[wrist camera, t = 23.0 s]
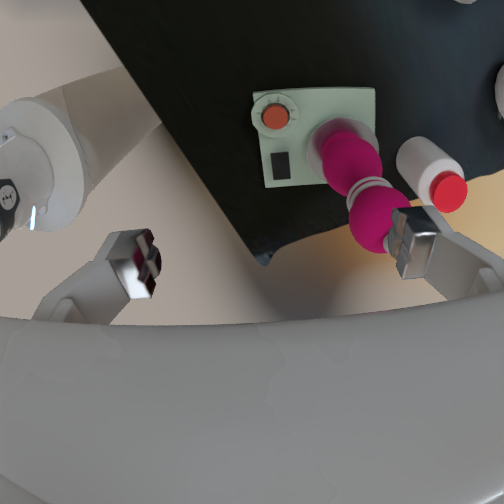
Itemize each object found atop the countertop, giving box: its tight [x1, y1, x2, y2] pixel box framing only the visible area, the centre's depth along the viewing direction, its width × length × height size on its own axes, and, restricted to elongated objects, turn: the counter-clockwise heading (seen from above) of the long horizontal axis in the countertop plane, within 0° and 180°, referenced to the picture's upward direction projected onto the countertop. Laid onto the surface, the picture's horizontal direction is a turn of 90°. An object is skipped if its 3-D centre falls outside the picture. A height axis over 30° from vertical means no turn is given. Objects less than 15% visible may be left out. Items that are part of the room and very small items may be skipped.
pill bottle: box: [396, 137, 467, 213], centre depth 35 cm, size 8×8×11 cm
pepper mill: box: [321, 131, 411, 254], centre depth 29 cm, size 7×7×20 cm
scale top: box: [270, 116, 379, 184], centre depth 37 cm, size 15×10×1 cm
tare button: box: [263, 104, 288, 130], centre depth 34 cm, size 3×3×2 cm
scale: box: [251, 87, 375, 188], centre depth 37 cm, size 16×14×3 cm
